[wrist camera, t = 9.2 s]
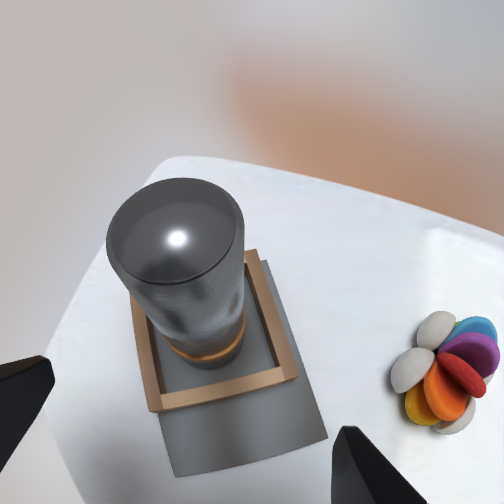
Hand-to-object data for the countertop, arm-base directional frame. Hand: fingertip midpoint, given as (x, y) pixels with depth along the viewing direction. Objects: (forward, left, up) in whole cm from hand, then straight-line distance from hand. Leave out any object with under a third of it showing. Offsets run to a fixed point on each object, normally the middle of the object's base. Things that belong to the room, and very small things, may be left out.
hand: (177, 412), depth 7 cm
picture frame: (+2, +4, -14) cm, 14 cm away
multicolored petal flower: (+18, -3, -14) cm, 23 cm away
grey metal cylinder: (+1, +6, -13) cm, 15 cm away
